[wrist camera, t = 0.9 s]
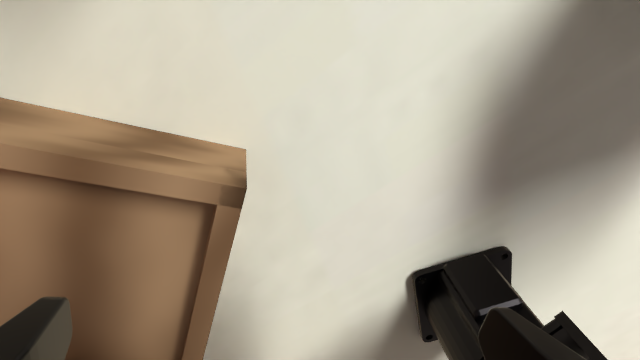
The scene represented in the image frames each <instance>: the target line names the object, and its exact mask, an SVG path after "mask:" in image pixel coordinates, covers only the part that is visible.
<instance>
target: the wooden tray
mask: <svg viewBox="0 0 640 360" xmlns="http://www.w3.org/2000/svg"><path fill="white" fill-rule="evenodd" d="M246 189H247V177H246V150H245V149H241V148H236V147H231V146H226V145H222V144H217V143H212V142H208V141H203V140H198V139H193V138H189V137H184V136H179V135H174V134H170V133H165V132H160V131H155V130H151V129H146V128H141V127H136V126H132V125H127V124H122V123H118V122H113V121H108V120H103V119H99V118H94V117H89V116H84V115H80V114H75V113H70V112H65V111H61V110H56V109H51V108H46V107H42V106H37V105H32V104H28V103H23V102H18V101H13V100H9V99H4V98H0V326H1V325H3V324H4V323H5V322H7V321H8V320H10V319H11V318H13V317H14V316H15V315H17V314H18V313H20V312H21V311H23V310H24V309H25V308H27V307H28V306H30V305H31V304H32V303H34V302H35V301H37V300H38V299H40V298H42V297H46V296H51V297H66V298H68V300H69V303H70V310H71V319H72V328H73V331H72V338H71V342H70V345H69V348H68V351H67V354H66V357H65V360H203V356H204V352H205V348H206V344H207V341H208V337H209V333H210V329H211V325H212V321H213V317H214V313H215V310H216V306H217V302H218V298H219V294H220V290H221V286H222V282H223V279H224V275H225V271H226V267H227V263H228V259H229V255H230V251H231V248H232V244H233V240H234V236H235V232H236V228H237V224H238V220H239V217H240V213H241V209H242V205H243V201H244V197H245V193H246Z"/></svg>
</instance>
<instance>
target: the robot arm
mask: <svg viewBox="0 0 640 360" xmlns="http://www.w3.org/2000/svg"><path fill="white" fill-rule="evenodd" d="M511 269H512V253H511V251H510V250H509V249H508V248H507V247H504V246H503V247H498V248H495V249H492V250H488V251H485V252H481V253H478V254H475V255H471V256H468V257H464V258H461V259H457V260H454V261H451V262H447V263H444V264H440V265H437V266H433V267H430V268H427V269H423V270H420V271H417V272H416V273H415V274H414V275H413V278H412V279H413V286H414V293H415V300H416V307H417V314H418V321H419V328H420V335H421V337H422V339H423V341H424V342H431V341H435V340H439V342H440V344H441V346H442V348H443V350H444V352H445V353H446V355H447V357H448V359H449V360H607V359H606V358H605V356H604V355H603V354H602V353H601V352H600V351H599V350H598V349H597V348H596V347H595V346H594V345H593V343H592V342H591V341H590V340H589V339H588V338H587V337H586V336H585V335H584V334H583V333H582V332H581V330H580V329H579V328H578V327H577V326H576V325H575V324H574V323H573V322H572V321H571V320H570V318H569V317H568V316H567V315H566V314H565V313H564V312H563V311H562V312H560V313H559V314H557V315H556V316H554V317H555V319H554V320H552V321H551V322H549V323H548V324H546V325H545V326H544V325H543V324H542V323H541V321H540V320H539V319H538V318H537V317H536V315H535V314H534V313H533V312H532V311H531V309H530V308H529V307H528V306H527V305H526V303H525V302H524V301H523V300H522V298H521V297H520V296H519V294H518V293H517V292H516V291H515V290H514V288H513V287H512V286H511ZM420 278H422V279H420ZM72 331H73V328H72V319H71V310H70V303H69V300H68V298H66V297H51V296H46V297H42V298H40V299H38V300H37V301H35V302H34V303H32V304H31V305H30V306H28V307H27V308H25V309H24V310H23V311H21V312H20V313H18V314H17V315H15V316H14V317H13V318H11V319H10V320H8V321H7V322H5V323H4V324H3V325H1V326H0V360H65V357H66V354H67V351H68V348H69V345H70V342H71V338H72Z"/></svg>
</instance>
